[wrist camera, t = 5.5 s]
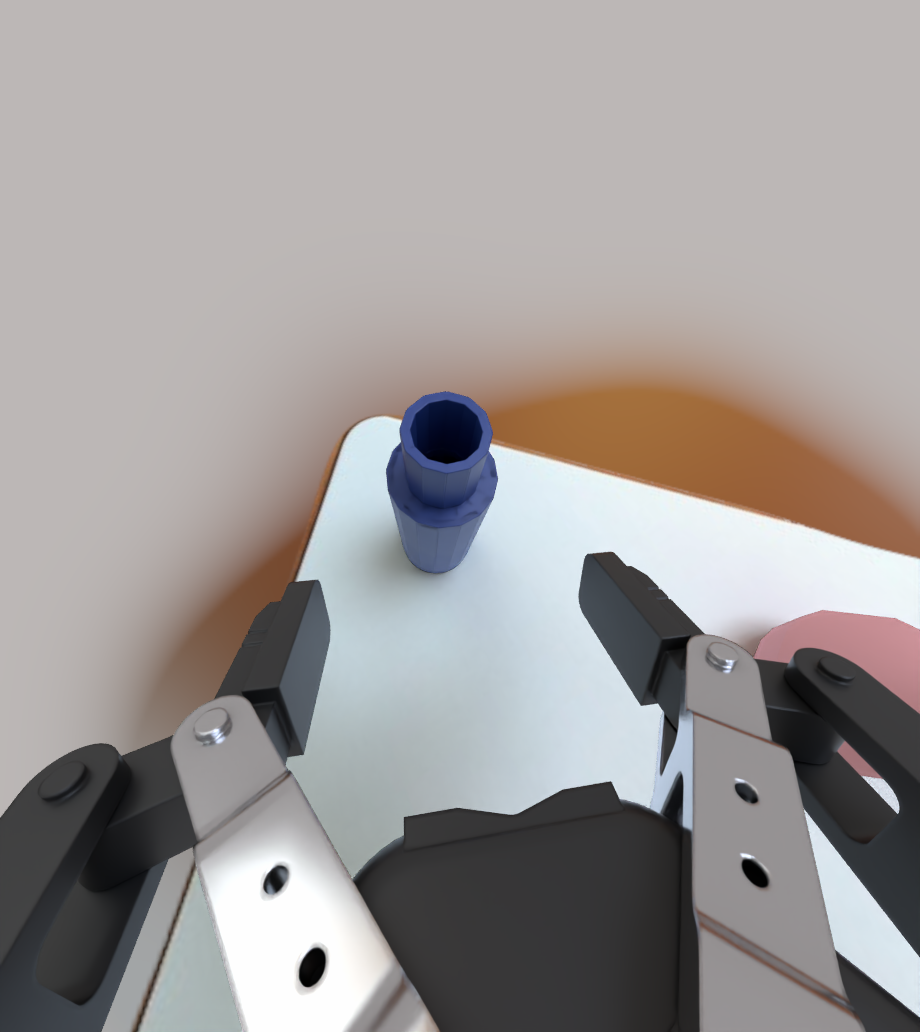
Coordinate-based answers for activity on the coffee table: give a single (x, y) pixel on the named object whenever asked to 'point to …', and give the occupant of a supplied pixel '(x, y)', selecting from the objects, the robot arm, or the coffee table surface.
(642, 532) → the coffee table surface
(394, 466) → the bottle
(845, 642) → the pink bud vase
